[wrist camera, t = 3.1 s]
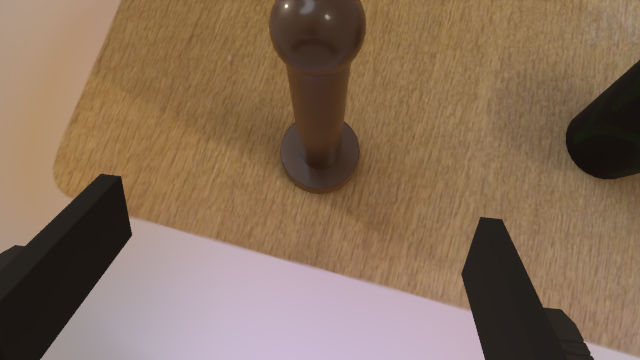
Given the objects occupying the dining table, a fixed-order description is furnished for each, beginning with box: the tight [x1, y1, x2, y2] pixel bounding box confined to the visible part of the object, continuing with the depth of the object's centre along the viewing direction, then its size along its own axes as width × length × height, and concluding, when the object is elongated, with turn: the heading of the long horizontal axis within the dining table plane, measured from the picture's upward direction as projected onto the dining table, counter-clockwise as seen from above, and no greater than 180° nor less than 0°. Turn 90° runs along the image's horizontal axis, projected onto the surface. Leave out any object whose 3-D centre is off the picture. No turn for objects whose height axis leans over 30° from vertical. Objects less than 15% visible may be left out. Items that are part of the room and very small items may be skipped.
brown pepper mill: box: [269, 0, 366, 193], centre depth 23 cm, size 6×6×18 cm
